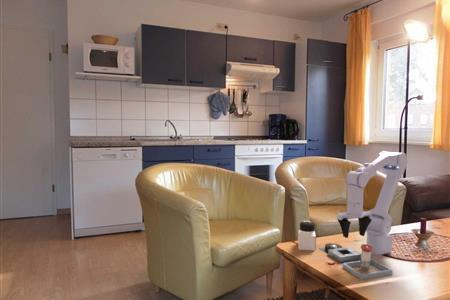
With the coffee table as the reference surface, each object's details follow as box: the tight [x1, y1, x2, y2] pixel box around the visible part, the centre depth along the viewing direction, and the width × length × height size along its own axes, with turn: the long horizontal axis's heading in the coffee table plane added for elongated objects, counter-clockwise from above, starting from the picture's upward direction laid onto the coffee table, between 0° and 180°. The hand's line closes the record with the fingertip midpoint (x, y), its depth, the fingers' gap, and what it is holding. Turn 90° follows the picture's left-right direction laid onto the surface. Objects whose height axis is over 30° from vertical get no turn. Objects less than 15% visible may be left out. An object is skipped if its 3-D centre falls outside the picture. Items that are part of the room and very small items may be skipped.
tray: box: [342, 258, 393, 280], centre depth 122 cm, size 13×10×2 cm
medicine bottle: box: [297, 220, 317, 251], centre depth 145 cm, size 7×7×12 cm
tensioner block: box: [318, 242, 361, 264], centre depth 138 cm, size 10×16×3 cm, turn 17°
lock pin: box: [358, 243, 373, 272], centre depth 123 cm, size 4×4×9 cm
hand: (353, 236), depth 131 cm, fingers open, 7 cm apart
